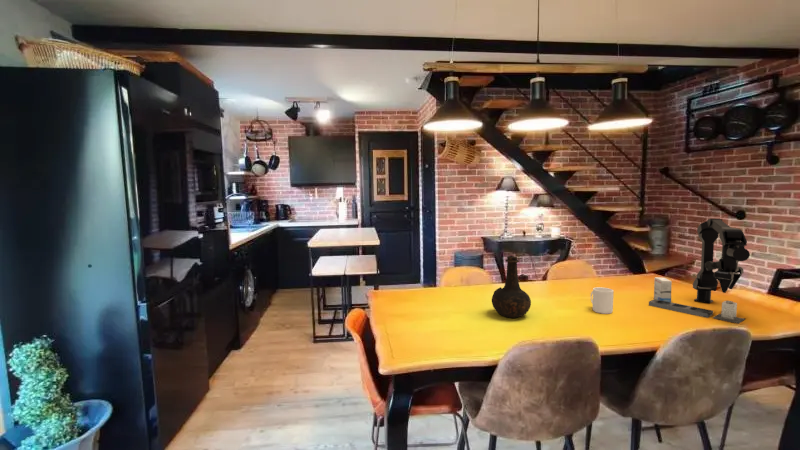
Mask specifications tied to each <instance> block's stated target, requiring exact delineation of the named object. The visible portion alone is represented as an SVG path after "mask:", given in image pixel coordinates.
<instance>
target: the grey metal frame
mask: <svg viewBox="0 0 800 450" xmlns="http://www.w3.org/2000/svg"><path fill="white" fill-rule="evenodd" d="M648 306H650V307H653V308H659V309H662V310H663V309H664V310H668V311H673V312H679V313H682V314H687V315H692V316H696V317H701V318H706V319H708V318H710V317H712V316H714V310H711V309H707V308H701V307H697V306H691V305H686V304H681V303H677V302H672V301H671V302H667V301H662V300H657V299H654V298H653V299H651V300H649V301H648Z"/></svg>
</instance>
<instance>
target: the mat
mask: <svg viewBox="0 0 800 450" xmlns="http://www.w3.org/2000/svg"><path fill="white" fill-rule="evenodd" d="M712 319H714V320H718V321H720V320H721V321H723V322H727V323H733V324H737V325H740V323H742V322H744V321H745V319H746V318H744V317H738V316H736V319H734V320H729V319H725V318H721V313H718V314H716V315H715V316H714V315H713V317H712Z"/></svg>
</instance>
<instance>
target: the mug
mask: <svg viewBox="0 0 800 450" xmlns="http://www.w3.org/2000/svg"><path fill="white" fill-rule="evenodd" d="M590 302H591V304H592V311H593V312H595V313H597V314H603V315H607V314H612V313H613V309H614V289H611V288H608V287H601V286H600V287H599V286H598V287H593V288H592V291H591V292H590Z"/></svg>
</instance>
